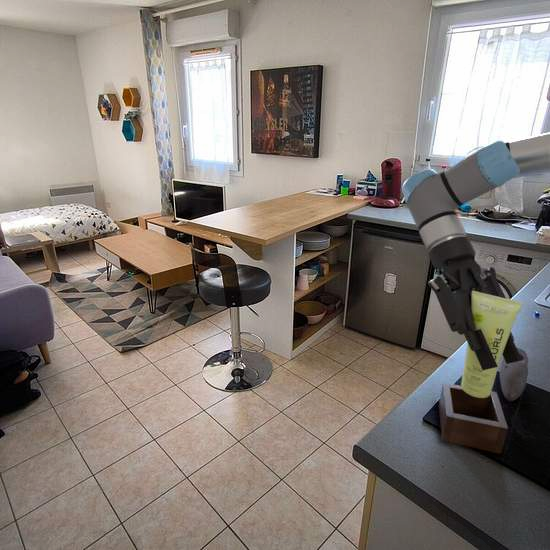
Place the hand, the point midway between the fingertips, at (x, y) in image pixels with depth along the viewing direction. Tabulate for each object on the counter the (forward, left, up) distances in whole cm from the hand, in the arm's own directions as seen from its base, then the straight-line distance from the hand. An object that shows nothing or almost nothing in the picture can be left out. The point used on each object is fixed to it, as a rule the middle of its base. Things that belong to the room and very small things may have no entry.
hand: (502, 365), depth 61 cm
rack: (+2, -3, -17) cm, 18 cm away
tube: (+3, -3, -8) cm, 9 cm away
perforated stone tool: (-8, -19, -18) cm, 27 cm away
